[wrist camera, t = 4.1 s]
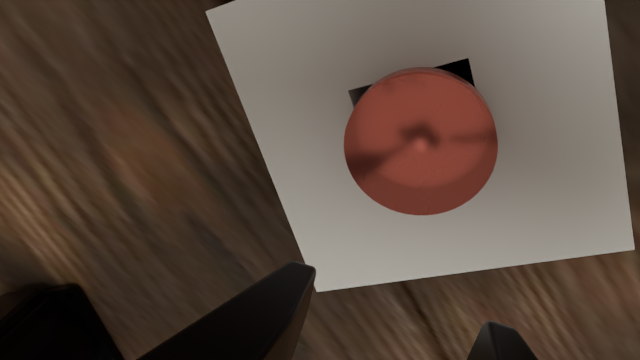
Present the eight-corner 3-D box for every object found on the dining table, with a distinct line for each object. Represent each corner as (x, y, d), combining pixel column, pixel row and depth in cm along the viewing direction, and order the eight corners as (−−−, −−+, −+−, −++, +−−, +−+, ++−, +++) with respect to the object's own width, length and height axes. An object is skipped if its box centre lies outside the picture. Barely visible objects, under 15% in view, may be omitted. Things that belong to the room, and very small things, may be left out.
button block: (593, 175, 19) (634, 249, 15) (343, 221, 23) (317, 292, 18) (551, -114, 16) (588, -128, 11) (262, -9, 19) (205, 11, 15)
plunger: (497, 132, 18) (511, 201, 14) (387, 156, 20) (367, 226, 15) (473, 19, 17) (480, 55, 12) (356, 54, 18) (324, 97, 14)
